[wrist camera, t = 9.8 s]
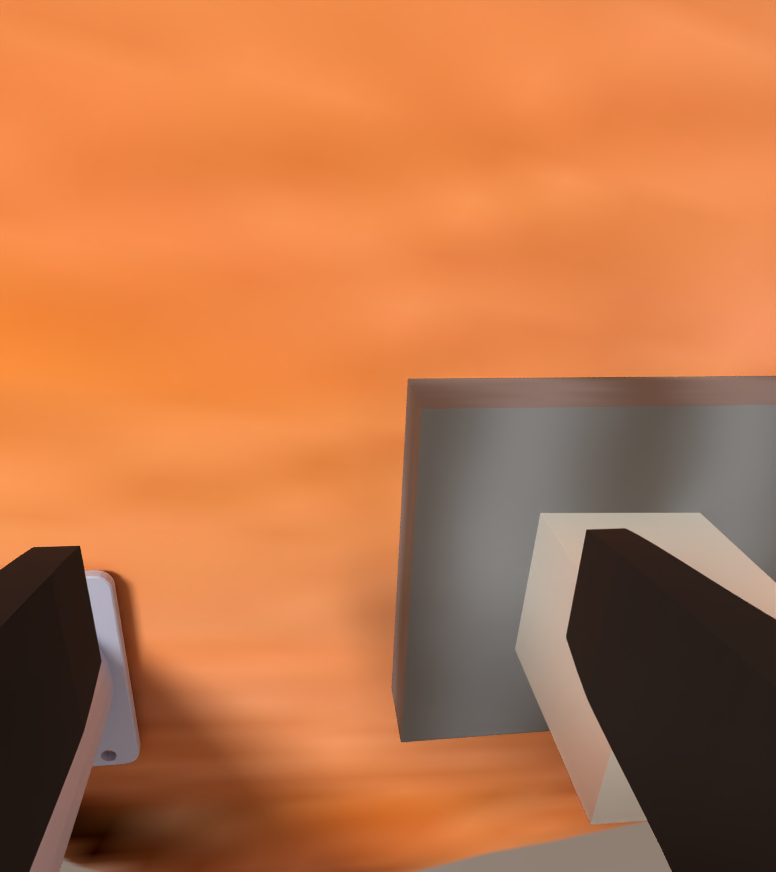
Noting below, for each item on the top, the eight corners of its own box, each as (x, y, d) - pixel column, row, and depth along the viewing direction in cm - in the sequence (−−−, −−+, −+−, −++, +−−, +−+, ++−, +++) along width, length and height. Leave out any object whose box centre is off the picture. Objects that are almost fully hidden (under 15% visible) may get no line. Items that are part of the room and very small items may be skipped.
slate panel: (389, 676, 25) (400, 742, 22) (404, 372, 20) (421, 408, 17) (688, 657, 27) (732, 716, 24) (768, 370, 22) (836, 404, 19)
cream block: (514, 649, 21) (590, 824, 16) (540, 512, 19) (636, 660, 14) (660, 644, 22) (781, 810, 17) (700, 512, 20) (851, 652, 15)
